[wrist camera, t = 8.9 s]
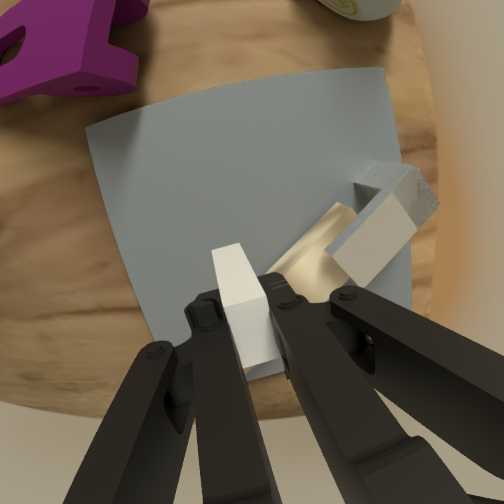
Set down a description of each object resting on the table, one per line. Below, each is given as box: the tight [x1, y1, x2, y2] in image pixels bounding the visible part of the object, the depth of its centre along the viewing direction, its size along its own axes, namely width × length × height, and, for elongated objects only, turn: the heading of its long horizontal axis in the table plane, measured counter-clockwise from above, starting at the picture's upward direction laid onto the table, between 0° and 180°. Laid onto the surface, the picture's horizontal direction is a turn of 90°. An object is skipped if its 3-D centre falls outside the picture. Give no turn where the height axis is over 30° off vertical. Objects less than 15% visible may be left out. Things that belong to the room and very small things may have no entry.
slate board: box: [85, 66, 412, 381], centre depth 29 cm, size 27×28×2 cm
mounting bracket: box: [0, 0, 150, 105], centre depth 20 cm, size 9×8×18 cm
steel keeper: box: [324, 160, 440, 288], centre depth 25 cm, size 10×4×6 cm, turn 135°
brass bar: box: [243, 202, 357, 374], centre depth 28 cm, size 20×5×3 cm, turn 135°
